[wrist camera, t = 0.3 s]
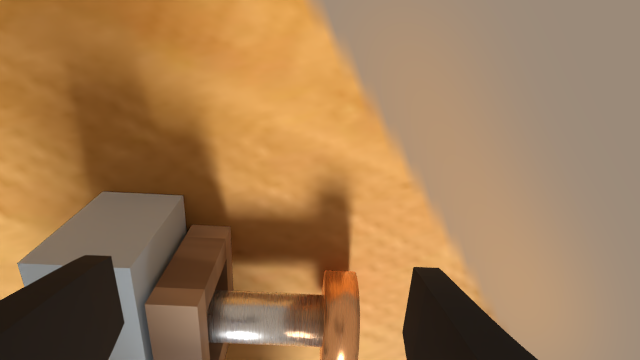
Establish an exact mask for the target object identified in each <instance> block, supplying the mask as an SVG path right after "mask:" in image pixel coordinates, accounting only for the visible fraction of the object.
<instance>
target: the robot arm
mask: <svg viewBox="0 0 640 360" xmlns="http://www.w3.org/2000/svg"><path fill="white" fill-rule="evenodd" d="M124 323H125V322H124V317H123V312H122V307H121V302H120V297H119V292H118V287H117V282H116V277H115V272H114V267H113V262H112V257H111V256H100V255H84V256H82V257H80V258H78V259H75V260H73V261H71V262H70V263H68V264H66V265H64V266H62V267H60V268H58V269H56V270H54V271H53V272H51V273H49V274H47V275H45V276H43V277H42V278H40V279H38V280H36V281H34V282H33V283H31V284H29V285H27V286H25V287H24V288H22V289H20V290H18V291H16V292H15V293H13V294H11V295H9V296H7V297H6V298H4V299H2V300H0V360H108V359H109V357H110V355H111V353H112V351H113V349H114V347H115V344H116V342H117V340H118V337H119V335H120V333H121V330H122V328H123V325H124ZM403 339H404V345H405V351H406V357H407V360H538V359H536V358H535V357H534V356H533V355H532V354H531V353H529V352H528V351H526V350H525V348H523V347H522V346H521V345H520V344H519V343H518V342H517V341H515V340H514V339H513V338H512V337H511V336H510V335H509V334H508V333H506V332H505V331H504V330H503V329H502V328H501V327H500V326H499V325H498V324H497V323H496V322H495V321H493V320H492V319H491V318H490V317H489V316H488V315H487V314H486V313H485V312H484V311H483V310H482V309H481V308H480V307H479V306H478V305H477V304H476V303H475V302H474V301H473V300H471V299H470V298H469V297H468V296H467V295H466V294H465V293H464V292H463V291H462V290H461V289H460V288H459V287H458V286H457V285H456V284H455V283H454V282H453V281H452V280H451V279H450V278H449V277H448V276H447V275H446V274H445V273H444V272H443V271H442V270H441V269H439V268H425V267H414V268H413V274H412V279H411V285H410V291H409V297H408V303H407V309H406V314H405V320H404V326H403Z"/></svg>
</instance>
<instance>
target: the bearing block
mask: <svg viewBox="0 0 640 360" xmlns="http://www.w3.org/2000/svg"><path fill="white" fill-rule="evenodd" d="M186 234H187V230H186V219H185V209H184V198H183V195H163V194H143V193H123V192H102V193H100V194H99V195H98V196H97V197H96V198H94V199H93V200H92V201H91V202H90V203H88V204H87V205H86V206H85V207H84V208H83V209H81V210H80V211H79V212H78V213H77V214H75V215H74V216H73V217H72V218H71V219H69V220H68V221H67V222H66V223H65V224H64V225H62V226H61V227H60V228H59V229H58V230H56V231H55V232H54V233H53V234H52V235H50V236H49V237H48V238H47V239H46V240H44V241H43V242H42V243H41V244H40V245H39V246H37V247H36V248H35V249H34V250H33V251H31V252H30V253H29V254H28V255H27V256H25V257H24V258H23V259H22V260H21V261H19V262H18V263H17V264H18V267H19V270H20V274H21V277H22V280H23V283H24V286H27V285H29V284H31V283H33V282H34V281H36V280H38V279H40V278H42V277H43V276H45V275H47V274H49V273H51V272H53V271H54V270H56V269H58V268H60V267H62V266H64V265H66V264H68V263H70V262H71V261H73V260H75V259H78V258H80V257H82V256H84V255H100V256H111V257H112V262H113V267H114V272H115V277H116V282H117V287H118V292H119V297H120V302H121V307H122V312H123V317H124V322H125V323H124V325H123V328H122V330H121V333H120V335H119V337H118V340H117V342H116V344H115V347H114V349H113V351H112V353H111V355H110V357H109V359H108V360H153V354H152V348H151V341H150V335H149V329H148V323H147V316H146V310H145V303H146V301H147V299H148V298H149V296H150V294H151V293H152V291H153V289H154V288H155V286H156V284H157V283H158V281H159V279H160V278H161V276H162V274H163V273H164V271H165V269H166V268H167V266H168V264H169V263H170V261H171V259H172V258H173V256H174V254H175V252H176V251H177V249H178V247H179V246H180V244H181V242H182V241H183V239H184V237H185V236H186Z"/></svg>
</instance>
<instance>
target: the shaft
mask: <svg viewBox="0 0 640 360" xmlns="http://www.w3.org/2000/svg"><path fill="white" fill-rule="evenodd" d="M206 315H207V327H208V340H209V342H212V343H237V344H261V345H285V346H309V347H320V360H358V352H359V334H360V305H359V289H358V281H357V276H356V273H355V272H351V271H329V270H325V271H324V276H323V286H322V295H313V294H290V293H268V292H245V291H223V290H215V291H214V293H213V296H212V299H211V301H210V304H209V307H208V309H207V312H206Z"/></svg>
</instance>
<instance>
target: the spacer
mask: <svg viewBox="0 0 640 360" xmlns="http://www.w3.org/2000/svg"><path fill="white" fill-rule="evenodd" d="M215 290H223V291H233V273H232V249H231V226H210V225H192V226H191V227H190V229H189V231H188V232H187V234H186V236H185V237H184V239H183V241H182V242H181V244H180V246H179V247H178V249H177V251H176V252H175V254H174V256H173V258H172V259H171V261H170V263H169V264H168V266H167V268H166V269H165V271H164V273H163V274H162V276H161V278H160V279H159V281H158V283H157V284H156V286H155V288H154V289H153V291H152V293H151V294H150V296H149V298H148V299H147V301H146V303H145V310H146V316H147V323H148V329H149V335H150V341H151V348H152V354H153V360H225V356H226V353H227V349H228V345H229V343H212V342H209V340H208V327H207V315H206V312H207V309H208V307H209V304H210V301H211V299H212V296H213V293H214V291H215Z"/></svg>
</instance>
